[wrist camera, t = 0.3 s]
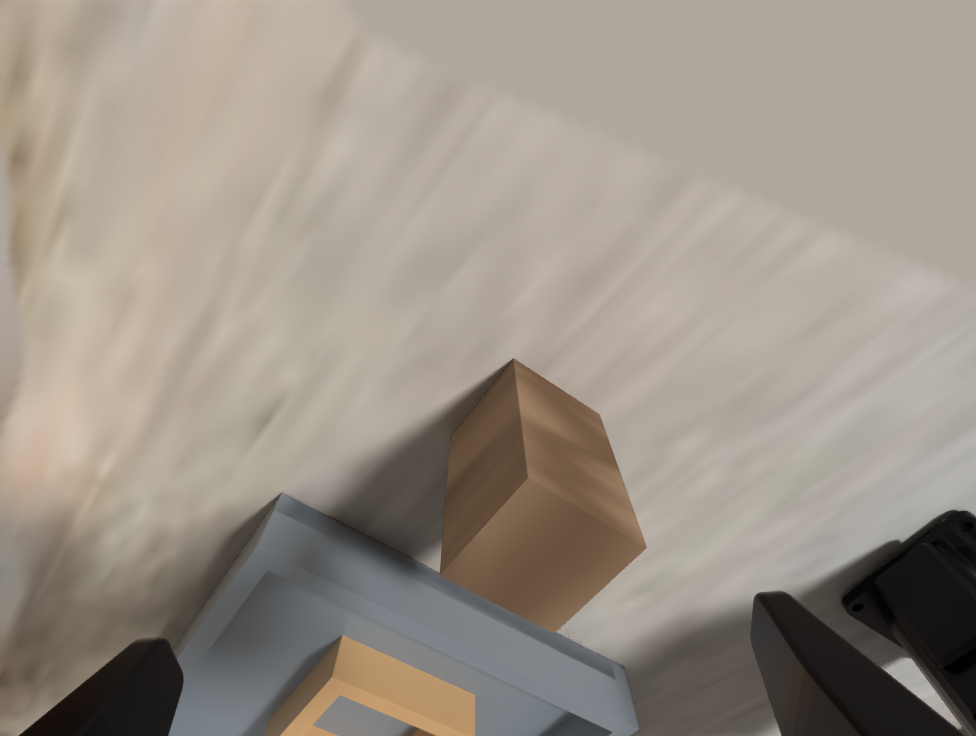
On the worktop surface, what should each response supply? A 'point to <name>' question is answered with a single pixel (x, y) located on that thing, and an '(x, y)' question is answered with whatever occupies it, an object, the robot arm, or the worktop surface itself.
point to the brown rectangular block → (535, 502)
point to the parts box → (377, 649)
